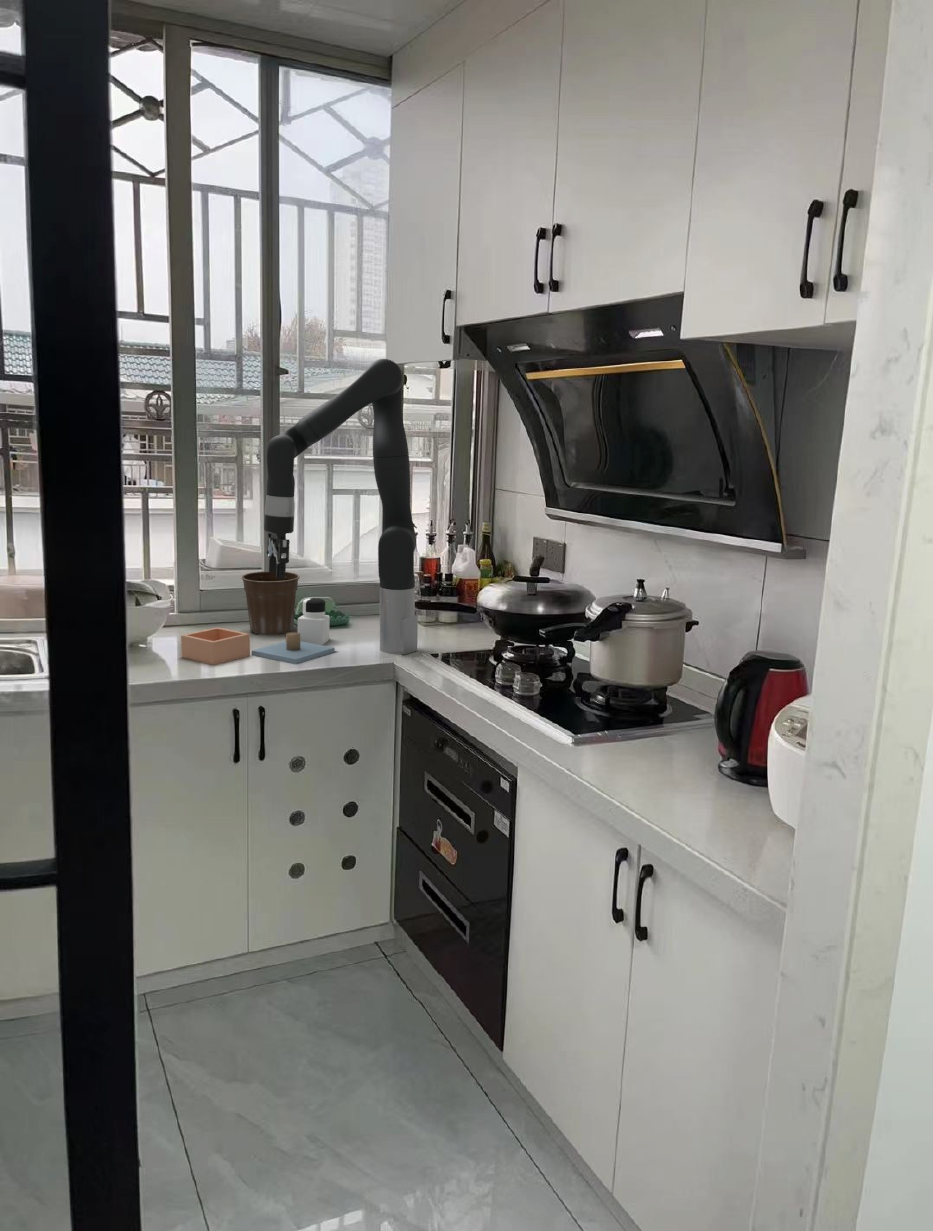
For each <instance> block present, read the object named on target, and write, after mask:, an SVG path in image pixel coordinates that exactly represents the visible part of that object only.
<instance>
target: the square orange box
mask: <svg viewBox="0 0 933 1231" xmlns="http://www.w3.org/2000/svg"><path fill="white" fill-rule="evenodd" d="M250 636H251V635H250V633H247V632H242V631H237V630H232V629H227V628H224V627H223V628H222V627H217V626H216V627H214V628H209V629H204V630H199V631H195V632H191V633H187V634H181V635H180V643H181V644H180V647H181V658H184V659H187V660H188V659H189V660H193V661H196V662H200V663H204V664H209V665H212V666H213V665H214V666H215V665H218V664H219V665H220V664H223V663H226V662H230V661H234V660H237V659H241V658H246V657H250V656H251V640H250V639H251V637H250Z"/></svg>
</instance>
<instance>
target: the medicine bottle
mask: <svg viewBox="0 0 933 1231" xmlns="http://www.w3.org/2000/svg"><path fill="white" fill-rule="evenodd" d="M302 614H303V615H301V616H299V617H298V618H297V633H300V641H302V642H307V643H312V644H318V645H323V646H324V645H325V644H326V643H327V642H328V641H329V640H330V621H331V620H330V618H331V617H330V615H327V614H326V601H325V600H324V599H323V598H318V597H309V598H306V599H304V600H302Z"/></svg>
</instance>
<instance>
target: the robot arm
mask: <svg viewBox="0 0 933 1231" xmlns="http://www.w3.org/2000/svg"><path fill="white" fill-rule="evenodd" d="M403 378H404V376H403V372H402V370H401V368H400V366H399V365H398V364H397V363H396V362H395V361H394V360H391V359H388V358H379V359H376V360H375V361H373V362H372V363H370V365H368V367H367V369H366V370H365V371H364V372H363V373H362V374H361V375H360V376H359V377H358V378H357V379H356V380H354V381H353V382H352V383H351V384H350V385H348V386H347V387H346V388H345V389H343V390H342V391H341V392H339V393H337V394H336V395H334V396H332V397H331V398H330V399H328V400H327V401H325V402H323V403H322V404H320V405H319V406H317V407H316V408H314V409H313V410H312V411H310V412H309V413H307V414H306V415H304V416H303V417H302V418H300V419H299V420H298V421H297V423H296V424H294V425H292V426H291V427H290V428H287V429H286V430H285V431H283V432H282V433H280V434H279V435H276V436H273V437H272V438H271V439H270V440H269V441H268V443H267V447H266V468H267V469H266V470H267V480H266V482H267V483H266V498H265V503H264V520H263V521H264V523H263V529H264V531H265V532H266V533H267V541H266V542H267V543H266V544H267V545H266V555H267V557H268V571H269V572H270V573H276V577H277V578H278V579H284V578H285V572H287V570H286V568H287V564H289V563H290V539H287V536H286V535H287V534H291V533H293V532H294V530H295V529H294V528H295V510H296V509H295V508H296V506H295V504H296V503H295V488H296V487H295V486H296V481H295V480H296V479H295V475H294V470H295V469H294V468H295V458H297V457H298V456H300V455H301V454H302V453H304V452H305V451H306V450H308V448H310V447H311V446H312V445H314V444H316V443H318V442H319V441H321V440H323V439H324V438H325V437H327V436H328V435H329V434H331V433H333V432H334V431H335V430H337V429H338V428H339V427H340V426H341V425H343V424H344V423H346V422H347V421H348V420H349V419H350V418H351V417H352V416H354V415H355V414H356V413H358V412H360V411H361V410H362V409H363V408H365V407H366V406H369V405H370V404H371V405H372V411H373V429H372V430H373V431H372V461H373V472H374V478H375V482H376V486H377V491H378V494H379V498H380V501H381V504H382V516H383V518H382V520H383V521H382V522H383V526H382V528H383V529H382V530H383V532H382V534H381V535H380V537H379V540H378V545H377V546H378V548H377V551H378V552H377V556H378V565H377V566H378V579H379V650H380V652H383V653H386V654H400V655H407V654H410V653H414V652H417V651H418V639H419V638H418V635H419V634H418V631H419V630H418V629H419V628H418V627H419V626H418V624H419V623H418V622H419V621H418V620H419V617H418V616H417V615H416V614H415V612H416V610H415V609H416V608H415V607H416V605H415V603H416V602H415V601H416V599H415V598H416V578H415V565H414V564H415V550H416V549H417V548H416V546H417V537H416V533H415V527H414V522H413V516H412V509H411V466H410V465H411V464H410V456H409V455H410V454H409V453H410V452H409V446H408V439H407V434H406V429H405V426H404V425H405V424H404V420H403V411H402V410H403V409H402V399H403V396H402V395H403V392H402V391H403V382H404V381H403V380H404V379H403Z"/></svg>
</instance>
